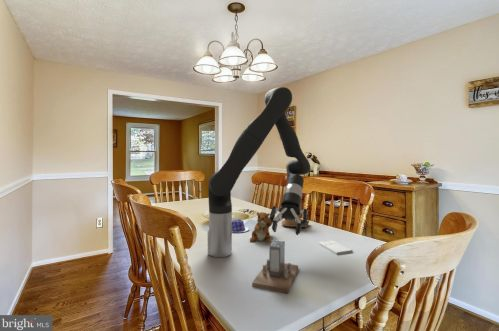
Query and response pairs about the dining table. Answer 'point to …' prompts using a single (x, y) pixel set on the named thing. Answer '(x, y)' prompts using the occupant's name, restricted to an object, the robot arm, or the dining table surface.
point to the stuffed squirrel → (262, 228)
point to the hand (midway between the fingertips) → (285, 232)
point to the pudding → (238, 226)
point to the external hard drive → (335, 247)
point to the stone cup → (292, 222)
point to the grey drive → (276, 258)
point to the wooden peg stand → (276, 283)
